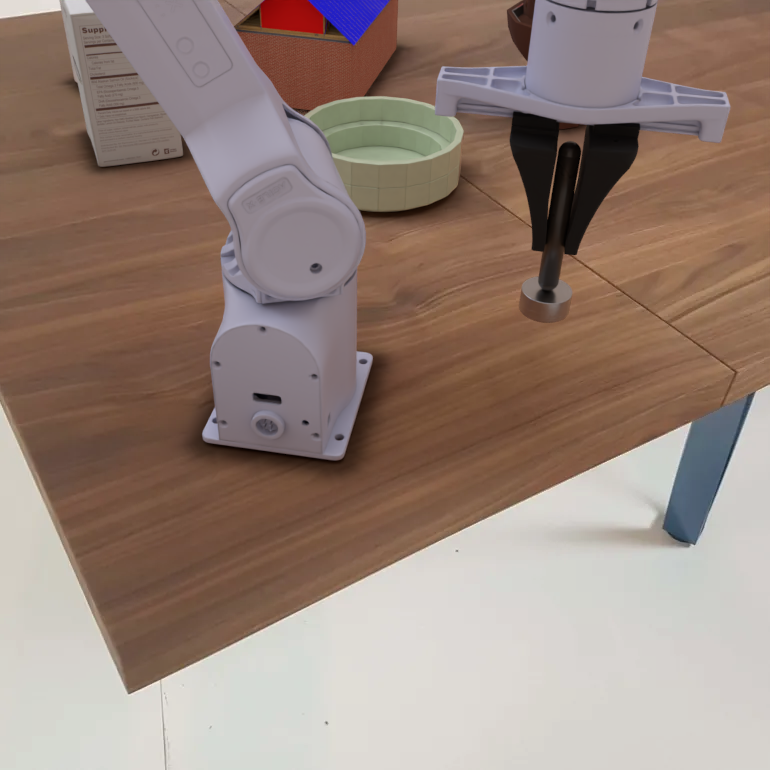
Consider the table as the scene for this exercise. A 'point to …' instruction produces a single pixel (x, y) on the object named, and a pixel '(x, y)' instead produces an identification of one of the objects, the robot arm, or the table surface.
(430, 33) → the table surface
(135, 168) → the table surface
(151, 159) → the white packaging box
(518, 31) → the ice cream bowl
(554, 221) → the pen in desk stand
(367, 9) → the house
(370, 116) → the bowl
